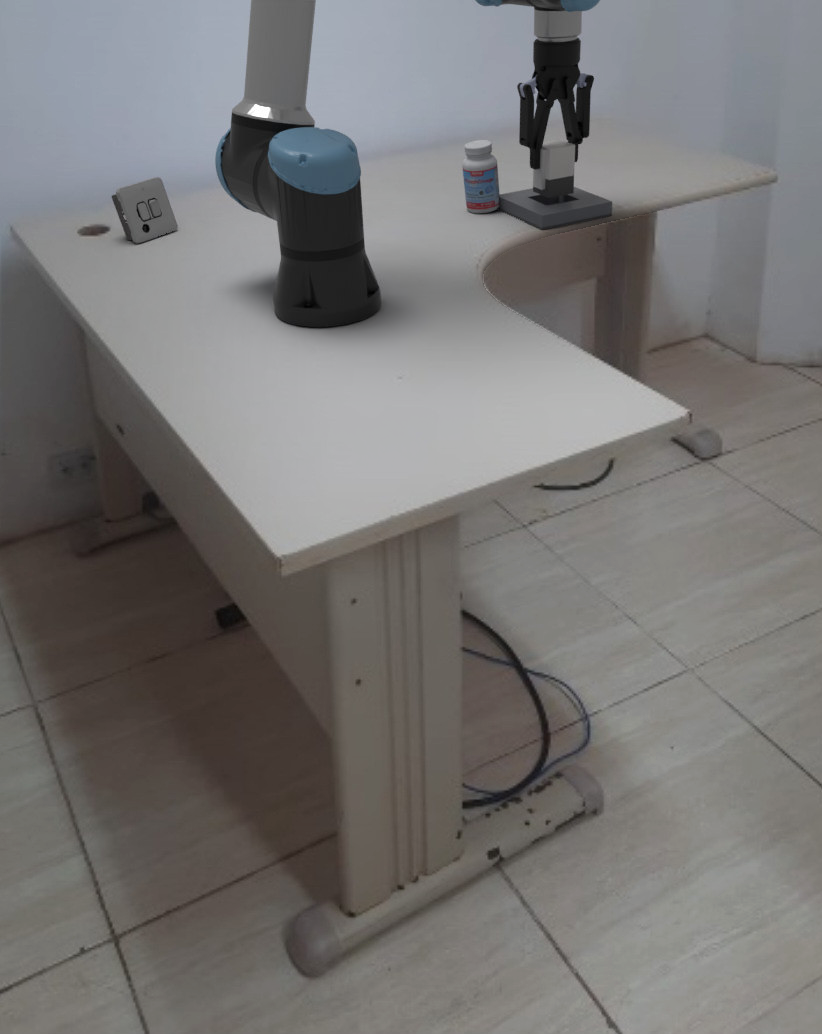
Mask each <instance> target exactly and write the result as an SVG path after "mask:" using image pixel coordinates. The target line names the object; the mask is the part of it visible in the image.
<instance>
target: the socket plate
mask: <svg viewBox="0 0 822 1034" xmlns="http://www.w3.org/2000/svg"><path fill="white" fill-rule="evenodd" d="M499 194H500V193H499ZM498 209H499V210H498V211H500V210H501V211H500V212H502V211H503V212H502V213H504V212H505V213H504V214H506V213H507V214H506V215H508V214H509V216H510V215H511V217H513V216H514V217H513V218H515V217H516V218H515V219H517V218H518V220H519V219H520V220H519V221H521V220H522V221H521V222H523V221H524V223H526V224H528V225H530V226H532V227H535V228H536V229H539V230H540V231H544V230H548V229H554V228H559V227H563V226H568V225H573V224H578V223H582V222H586V221H587V222H588V221H592V220H597V219H603V218H608V217H611V216H613V214H612V213H613V201H612V200H609V199H607V198H604V197H602V196H599V195H596V194H594V193H591V192H588V191H587V190H583V189H581V188H579V187H575V186H574V193H572V194H567V195H562V196H556V197H551V198H547V197H545V196H543V195H540V194H538V193H535V192H533V187H532V188H526V189H522V190H515V191H511V192H506V193H501V194H500V196H499V208H498Z"/></svg>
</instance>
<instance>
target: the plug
mask: <svg viewBox="0 0 822 1034" xmlns="http://www.w3.org/2000/svg"><path fill="white" fill-rule="evenodd" d="M542 148H543V149H546V177H545V189H543V190H541V189H538V188H536V187H533V186H532V188H533V192H535V193H538V194H540V195H543V196H545V197H547V198H551V197H556V196H562V195H567V194H572V193H574V187H575V164H576V162H575V145H574V144H571V143H568V141H565V140H562V139H552V140H547V141H543V145H542Z"/></svg>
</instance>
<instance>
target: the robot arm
mask: <svg viewBox="0 0 822 1034" xmlns="http://www.w3.org/2000/svg"><path fill="white" fill-rule="evenodd" d="M316 1H317V0H250V10H249V12H250V13H249V14H250V15H249V28H248V38H247V39H248V41H247V50H246V65H245V78H244V79H245V80H244V93H243V98H242V100H241V101H240V102H238V104H236V105H235V106H234V107H233V108H232V110H231V119H230V128H229V129H227V131H226V132H225V134H224V135H222V137H221V138H220V140H219V142H218V145H217V147H216V151H215V158H214V159H215V162H214V163H215V171H216V176H217V179H218V180H219V183H220V185H221V186H222V188H223V190H224V191H225V192H226V194H227V195H228V196H229V197H231V199H233V200H234V201H235V202H236V203H237V204H239V205H240V206H241V207H243V208H244V209H245V210H249V211H251V212H253V213H258V214H260V215H262V216H265V217H266V218H268V219H271V220H273V221H276V226H277V233H278V243H279V250H280V251H279V252H280V261H279V266H278V267H279V268H278V272H277V276H276V279H275V280H276V281H275V286H274V291H273V295H272V296H273V297H272V301H273V308H274V314H275V315H276V317H277V318H279V320H281V321H283V322H285V323H288V324H291V325H295V326H301V327H309V328H310V327H312V328H313V327H314V328H316V327H318V328H321V327H322V328H324V327H337V326H343V325H349V324H353V323H356V322H360V321H362V320H365V319H367V318H369V317H371V316H373V315H374V314H376V313H377V312H378V311H379V310H380V308H381V306H382V295H381V294H382V293H381V288H380V285H379V282H378V280H377V277H376V275H375V272H374V270H373V267H372V265H371V262H370V260H369V257H368V255H367V252H366V245H365V232H364V231H365V229H364V215H363V201H362V186H361V184H362V183H361V176H362V170H361V164H360V159H359V154H358V149H357V145H356V144H355V142H354V141H353V140H352V138H351V137H349V136H348V135H346V134H345V133H343V132H340V131H338V130H335V129H334V130H333V129H330V128H320V127H316V126H315V124H316V121H315V118H313V117H312V115H311V114H310V112H309V111H308V109H307V105H306V104H307V95H308V83H309V74H310V64H311V63H310V62H311V52H312V43H313V35H314V34H313V33H314V24H315V23H314V21H315V13H316V12H315V11H316ZM600 1H601V0H474V2H476V3H477V4H479V5H480V6H482V7H490V6H491V7H492V6H493V7H500V6H502V5H503V6H504V5H516V6H523V7H533V9H534V10H533V11H534V12H533V15H534V16H533V21H534V22H533V35H534V36H535V37H536V39H534V41H533V46H532V47H533V52H532V55H533V57H532V60H533V61H532V62H533V66H534V71H533V73H532V75H531V76H532V77H531V79H529V80H528V81H526V82H519V83H518V84H517V85H516V86H517V87H516V89H517V91H518V96H519V134H518V135H519V137H518V138H519V141H518V142H519V145H520V146H524V147H526V148H528V149H529V167H530V169H533V170H532V171H533V172H532V177H533V178H532V188H533V187H536V188H538V189H541V190H543V189H545V177H546V149H543V148H542V145H543V142H545V140H544V139H545V135H546V132H547V126H548V123H549V118H550V114H551V111H552V110H551V109H552V108H553V107H554V104H555V101H558V102H559V105H560V111H561V116H562V122H563V126H564V127H563V128H564V133H565V137H566V138H565V139H566V140H567V142H568V143H571V144H574V145H575V163H577V162H578V160H579V145H581V144H583V141H584V139H587V138H588V137H590V129H591V128H590V124H591V123H590V122H591V94H592V93H591V92H592V88H593V85H594V82H595V77H594V75H592V74H589V73H581V70H580V68H579V63H580V61H581V45H582V43H581V42H582V41H581V39H580V38H579V37H578V36H580V35H581V34H582V23H583V22H582V21H583V18H582V17H583V16H582V14H583V12H586V11H590V10H592V9H593V8H594V7H596V6H597V5H598V4H599V3H600ZM575 87H576V93H575V91H574V88H575ZM535 89H536V90H535ZM536 91H537V96H536V100H535V96H534V95H535V94H536ZM535 103H536V109H535Z"/></svg>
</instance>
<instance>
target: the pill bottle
mask: <svg viewBox="0 0 822 1034" xmlns="http://www.w3.org/2000/svg"><path fill="white" fill-rule="evenodd" d="M492 145H493V144H492V142H491V141H490V140H486V139H481V140H479V139H478V140H473V141H469V142H467V143H465V144H464V154H465V156H466V157H465V158H464V159H463V161H462V167H461V168H462V176H463V187H464V196H465V205H466V210H467V211H468V212H469V213H472V214H486V213H491V212H494V211H496V210H497V209H498V208H499V196H500V184H499V183H500V182H499V169H498V161H497V158H496V157H495V155H493V154H492V152H493V151H492V150H493V146H492Z"/></svg>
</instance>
